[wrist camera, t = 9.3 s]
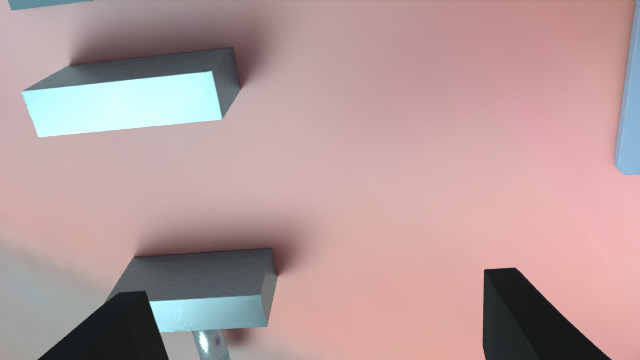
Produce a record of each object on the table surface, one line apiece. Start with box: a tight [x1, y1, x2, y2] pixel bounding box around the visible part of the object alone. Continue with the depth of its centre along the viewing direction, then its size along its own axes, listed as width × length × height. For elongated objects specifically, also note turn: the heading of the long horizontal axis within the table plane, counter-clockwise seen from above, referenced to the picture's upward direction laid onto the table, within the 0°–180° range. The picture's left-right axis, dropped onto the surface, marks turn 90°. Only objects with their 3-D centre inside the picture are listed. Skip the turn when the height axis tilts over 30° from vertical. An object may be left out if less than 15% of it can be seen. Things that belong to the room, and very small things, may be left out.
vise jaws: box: [22, 47, 277, 360], centre depth 20 cm, size 6×14×3 cm, turn 7°
